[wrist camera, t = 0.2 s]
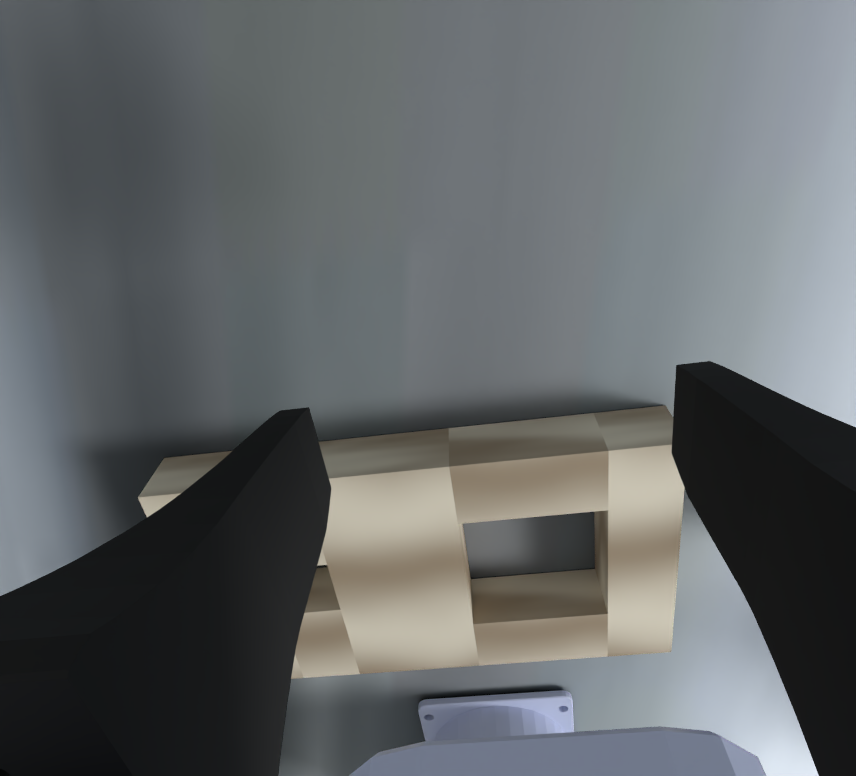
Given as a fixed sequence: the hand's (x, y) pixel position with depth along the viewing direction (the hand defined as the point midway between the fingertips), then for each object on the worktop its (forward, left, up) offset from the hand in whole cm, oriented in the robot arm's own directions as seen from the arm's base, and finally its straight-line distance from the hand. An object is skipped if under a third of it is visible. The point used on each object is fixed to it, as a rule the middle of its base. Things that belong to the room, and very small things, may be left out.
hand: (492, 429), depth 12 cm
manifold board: (-12, +3, -10) cm, 16 cm away
